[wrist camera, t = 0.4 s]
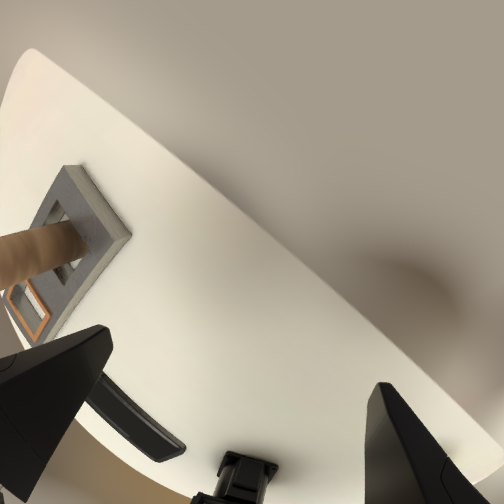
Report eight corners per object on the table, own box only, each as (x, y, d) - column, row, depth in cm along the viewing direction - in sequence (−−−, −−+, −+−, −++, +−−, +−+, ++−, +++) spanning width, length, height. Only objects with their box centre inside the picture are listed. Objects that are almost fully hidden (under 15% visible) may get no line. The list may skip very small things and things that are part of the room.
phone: (94, 368, 29) (187, 452, 29) (99, 364, 30) (190, 446, 30) (75, 391, 31) (156, 464, 31) (80, 387, 32) (159, 459, 32)
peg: (88, 263, 26) (-16, 309, 14) (62, 251, 26) (-36, 289, 14) (91, 224, 25) (-23, 256, 12) (65, 215, 25) (-41, 240, 13)
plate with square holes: (81, 165, 24) (61, 165, 21) (131, 235, 24) (113, 241, 21) (14, 293, 30) (0, 300, 28) (48, 346, 31) (35, 355, 28)
